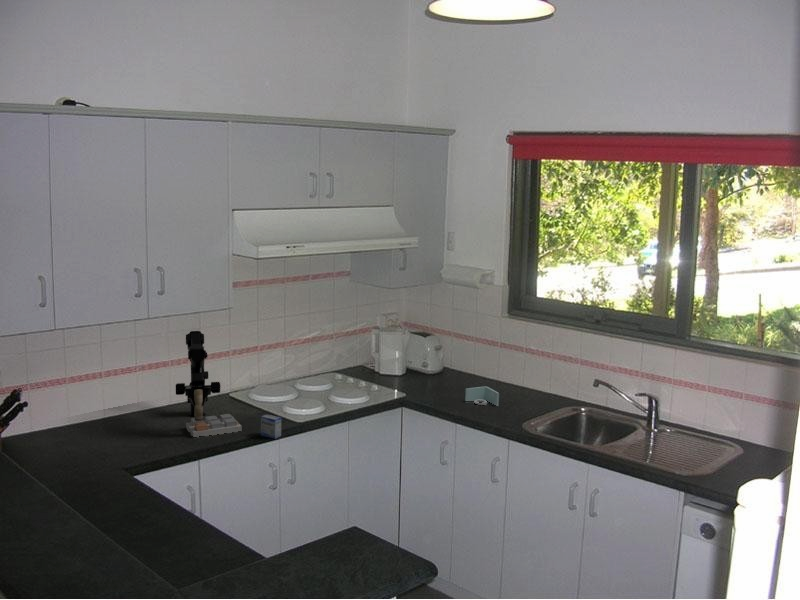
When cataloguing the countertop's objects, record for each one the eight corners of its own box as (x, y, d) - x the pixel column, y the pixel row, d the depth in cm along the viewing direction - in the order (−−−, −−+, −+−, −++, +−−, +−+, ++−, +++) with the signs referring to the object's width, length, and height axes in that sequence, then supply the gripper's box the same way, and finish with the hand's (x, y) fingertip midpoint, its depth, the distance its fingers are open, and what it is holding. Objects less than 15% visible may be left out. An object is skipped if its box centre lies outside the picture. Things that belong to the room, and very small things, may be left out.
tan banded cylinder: (192, 419, 354) (192, 390, 352) (199, 417, 357) (199, 388, 354) (197, 421, 352) (197, 392, 350) (204, 419, 355) (204, 390, 352)
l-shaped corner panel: (465, 403, 413) (465, 388, 412) (485, 400, 418) (486, 386, 417) (477, 410, 403) (478, 395, 401) (498, 407, 408) (499, 393, 406)
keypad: (186, 428, 363) (186, 418, 362) (232, 422, 373) (232, 412, 372) (193, 438, 352) (193, 427, 351) (241, 431, 361) (241, 421, 361)
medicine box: (260, 435, 357) (260, 416, 356) (266, 432, 361) (266, 413, 359) (275, 439, 354) (275, 419, 352) (281, 436, 357) (281, 416, 356)
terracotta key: (194, 428, 357) (194, 423, 356) (204, 427, 359) (204, 421, 358) (197, 432, 353) (196, 426, 353) (207, 430, 355) (207, 425, 355)
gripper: (175, 365, 351) (175, 398, 343) (220, 363, 356) (221, 396, 348) (175, 378, 360) (176, 410, 352) (219, 376, 365) (220, 408, 357)
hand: (198, 405), depth 352 cm, fingers closed on tan banded cylinder, 3 cm apart
